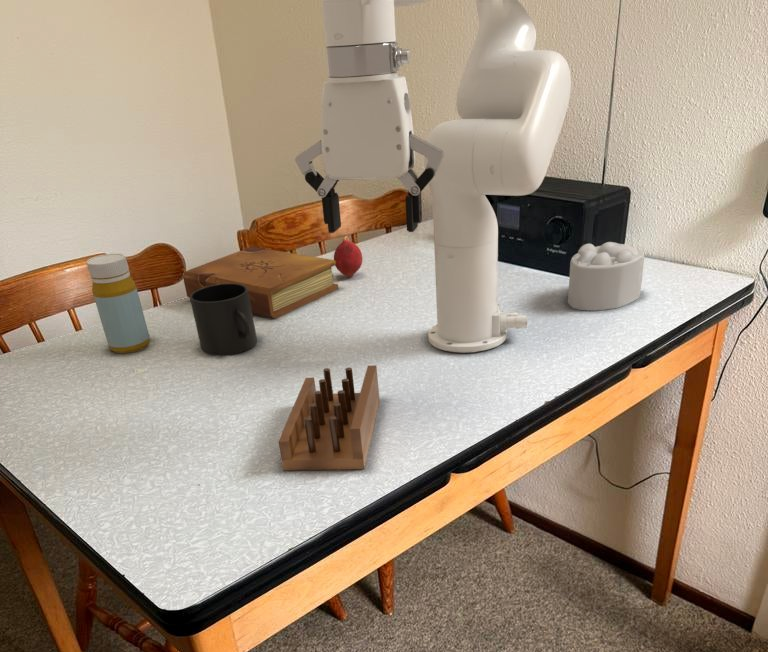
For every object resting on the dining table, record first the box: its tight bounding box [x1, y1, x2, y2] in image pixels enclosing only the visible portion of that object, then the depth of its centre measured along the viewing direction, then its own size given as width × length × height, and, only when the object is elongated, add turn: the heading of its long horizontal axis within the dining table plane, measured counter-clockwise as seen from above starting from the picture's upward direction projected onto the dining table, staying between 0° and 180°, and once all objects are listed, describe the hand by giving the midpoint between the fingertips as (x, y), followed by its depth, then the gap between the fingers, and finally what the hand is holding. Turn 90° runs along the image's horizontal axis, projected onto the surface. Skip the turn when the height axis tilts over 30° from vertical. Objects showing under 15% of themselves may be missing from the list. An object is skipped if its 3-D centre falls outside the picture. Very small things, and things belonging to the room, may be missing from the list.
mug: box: [189, 283, 258, 356], centre depth 124 cm, size 9×12×9 cm
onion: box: [333, 235, 363, 278], centre depth 151 cm, size 6×6×8 cm
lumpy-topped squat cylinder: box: [567, 241, 645, 311], centre depth 129 cm, size 10×13×9 cm
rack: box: [277, 364, 381, 471], centre depth 97 cm, size 10×18×6 cm, turn 174°
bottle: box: [86, 252, 151, 354], centre depth 126 cm, size 7×7×15 cm
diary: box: [182, 246, 339, 320], centre depth 146 cm, size 23×19×6 cm
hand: (373, 229), depth 91 cm, fingers open, 9 cm apart
